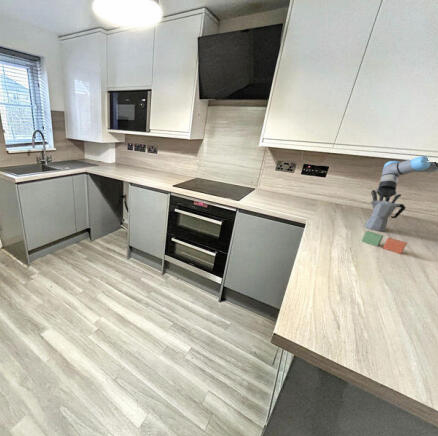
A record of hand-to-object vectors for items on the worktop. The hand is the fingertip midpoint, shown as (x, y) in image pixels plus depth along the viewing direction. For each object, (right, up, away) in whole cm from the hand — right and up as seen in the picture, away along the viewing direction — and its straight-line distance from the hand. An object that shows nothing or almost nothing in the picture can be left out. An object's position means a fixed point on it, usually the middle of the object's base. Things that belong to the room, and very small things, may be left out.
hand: (379, 216), depth 134 cm
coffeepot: (-3, -7, -1) cm, 8 cm away
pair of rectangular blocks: (-23, -14, -24) cm, 36 cm away
